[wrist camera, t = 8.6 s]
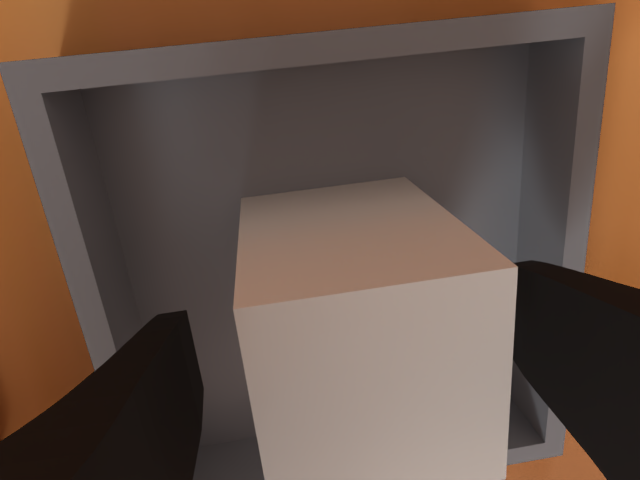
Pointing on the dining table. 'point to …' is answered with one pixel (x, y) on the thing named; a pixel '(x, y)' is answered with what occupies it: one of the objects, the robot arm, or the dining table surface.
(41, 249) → the dining table surface
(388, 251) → the block
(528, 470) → the dining table surface
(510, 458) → the bin
